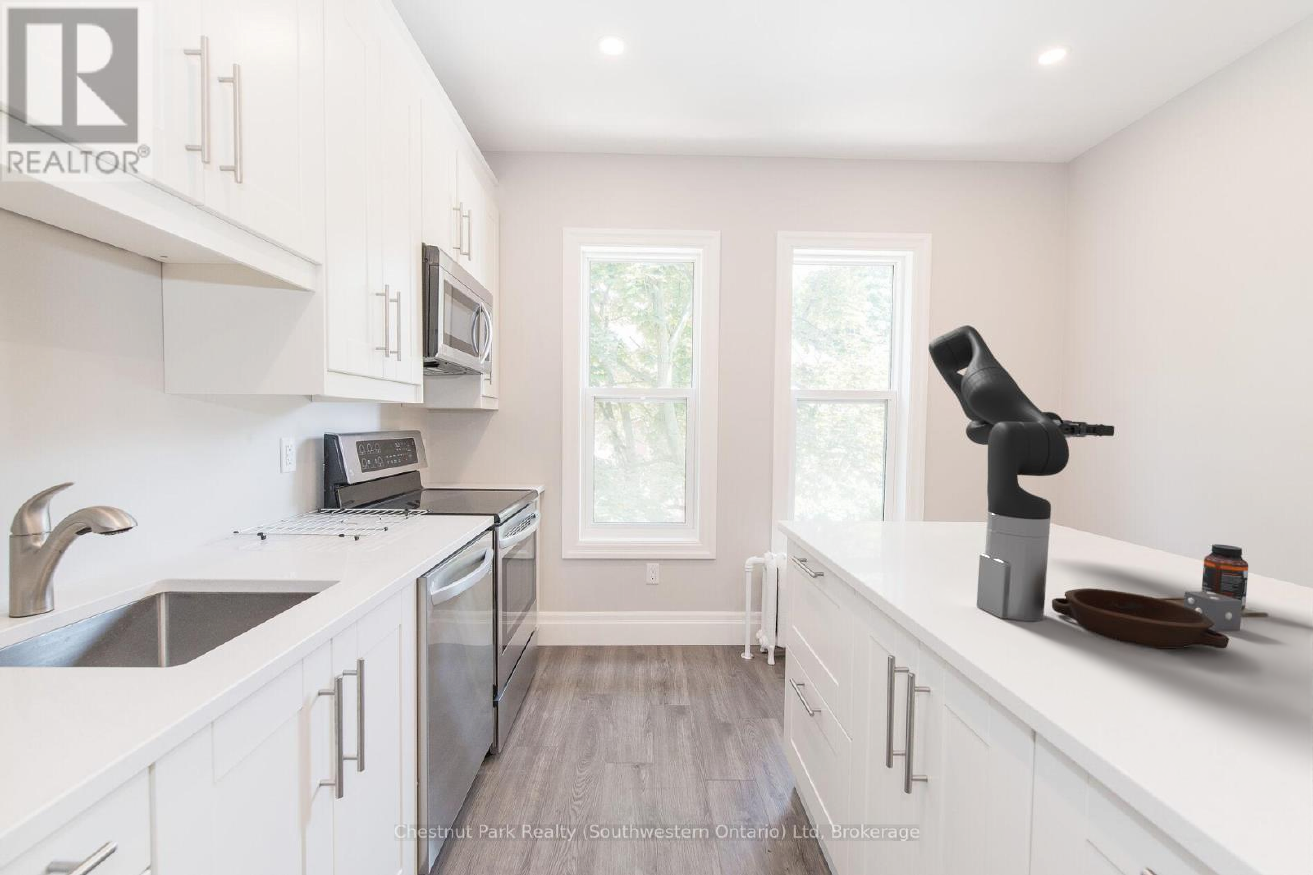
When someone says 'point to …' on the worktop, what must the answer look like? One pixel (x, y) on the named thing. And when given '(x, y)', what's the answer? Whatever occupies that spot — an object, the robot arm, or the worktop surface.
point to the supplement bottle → (1226, 572)
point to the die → (1216, 609)
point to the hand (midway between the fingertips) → (1095, 430)
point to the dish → (1138, 619)
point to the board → (1243, 613)
